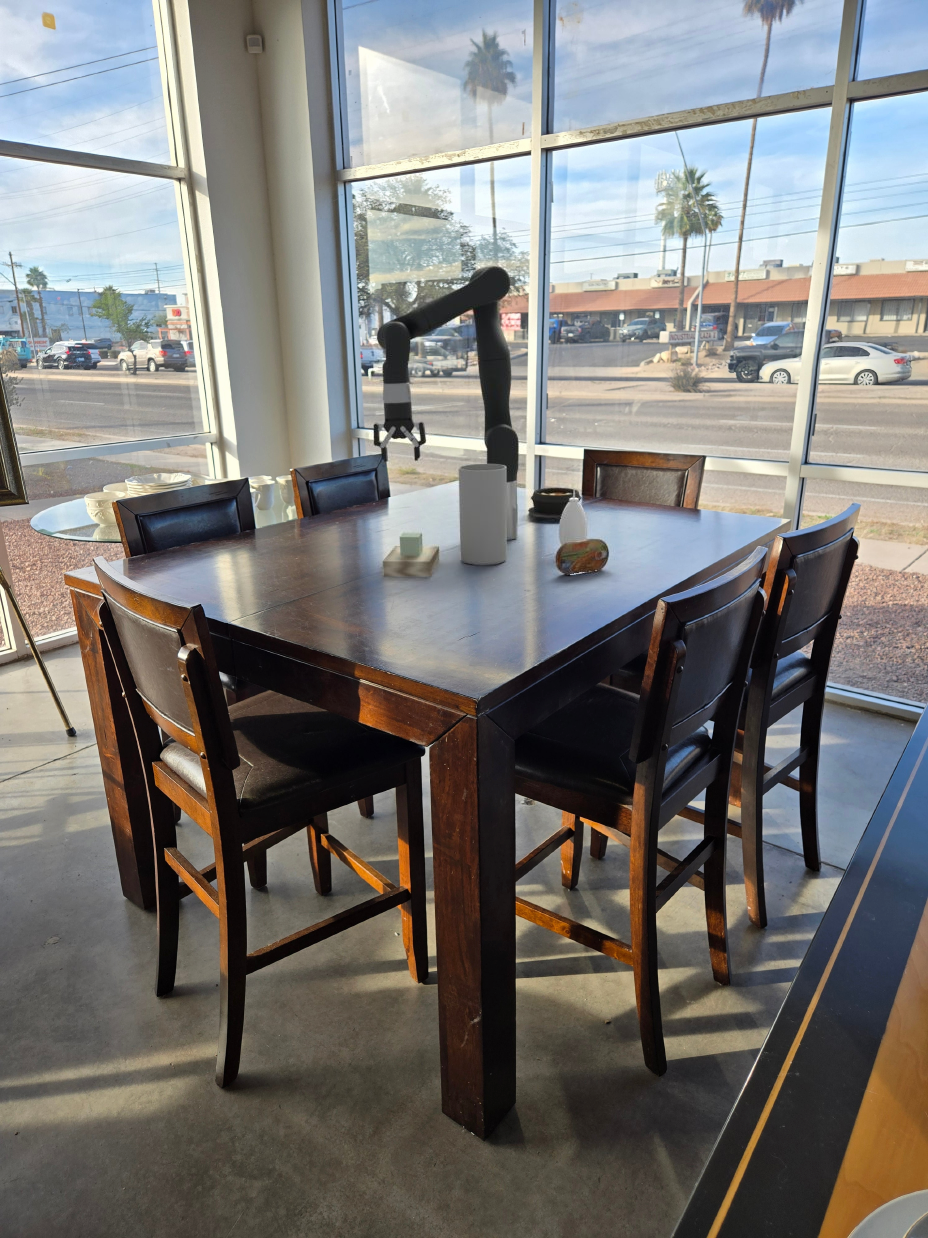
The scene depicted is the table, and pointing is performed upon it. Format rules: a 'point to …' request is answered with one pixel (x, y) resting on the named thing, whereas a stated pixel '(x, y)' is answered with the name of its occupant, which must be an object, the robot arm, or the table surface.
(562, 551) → the tin
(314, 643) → the table surface
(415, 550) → the cube
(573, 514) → the sauce bottle
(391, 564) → the base block
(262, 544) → the table surface
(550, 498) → the casserole
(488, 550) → the cylinder vase
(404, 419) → the robot arm
